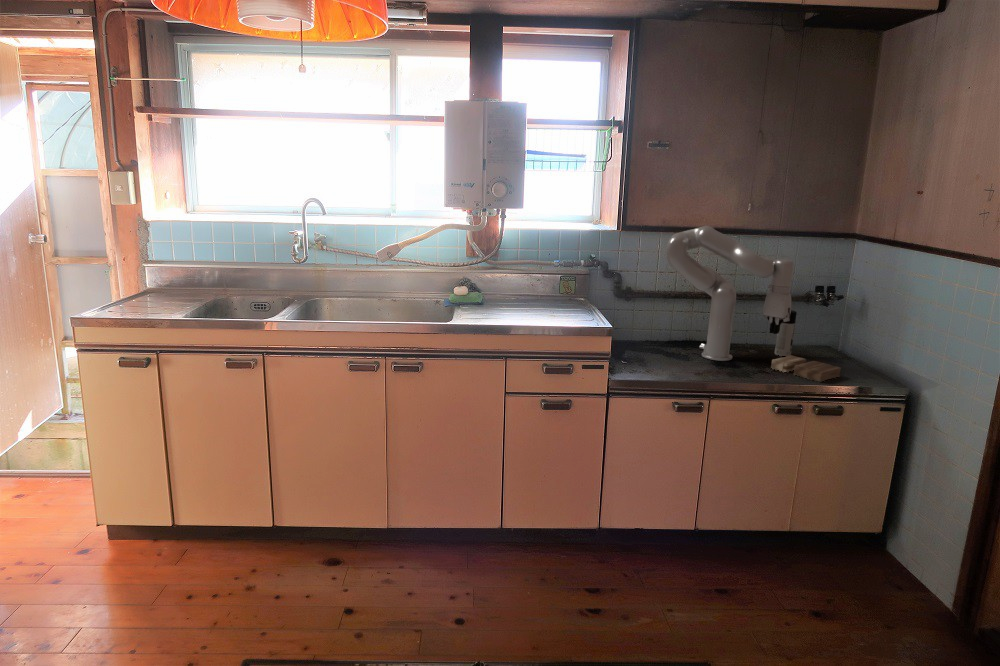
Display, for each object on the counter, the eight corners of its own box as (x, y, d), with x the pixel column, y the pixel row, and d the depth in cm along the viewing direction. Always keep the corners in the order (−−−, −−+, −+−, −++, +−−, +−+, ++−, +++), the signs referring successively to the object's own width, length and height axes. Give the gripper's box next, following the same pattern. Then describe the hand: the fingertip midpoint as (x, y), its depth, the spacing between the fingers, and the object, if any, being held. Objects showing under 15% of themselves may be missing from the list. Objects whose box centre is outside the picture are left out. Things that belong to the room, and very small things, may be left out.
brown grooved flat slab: (790, 374, 260) (792, 364, 259) (810, 369, 267) (811, 359, 266) (819, 382, 250) (821, 372, 249) (839, 377, 258) (840, 367, 257)
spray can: (792, 357, 284) (798, 313, 279) (775, 356, 285) (782, 311, 281) (788, 353, 290) (795, 309, 286) (772, 352, 292) (778, 308, 287)
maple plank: (770, 369, 267) (772, 359, 266) (790, 364, 274) (791, 355, 273) (785, 373, 261) (786, 363, 260) (804, 368, 269) (806, 359, 268)
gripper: (758, 287, 271) (752, 330, 275) (792, 293, 259) (785, 338, 263) (768, 286, 275) (763, 328, 279) (802, 292, 263) (796, 336, 267)
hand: (774, 332), depth 271 cm, fingers closed
